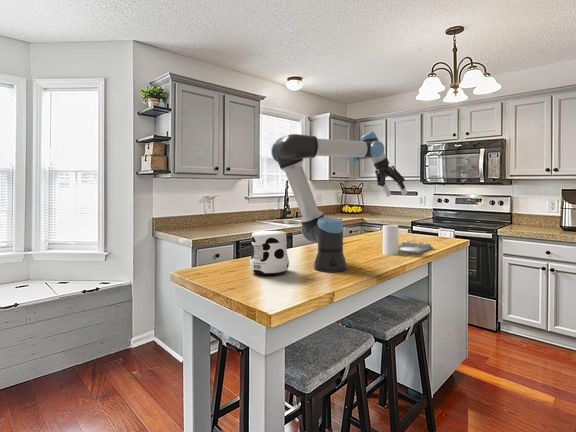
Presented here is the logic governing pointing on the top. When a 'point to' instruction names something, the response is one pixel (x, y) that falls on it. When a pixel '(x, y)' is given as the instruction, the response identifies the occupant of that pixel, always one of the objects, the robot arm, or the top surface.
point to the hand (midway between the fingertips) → (397, 195)
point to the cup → (390, 239)
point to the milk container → (269, 252)
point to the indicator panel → (414, 247)
